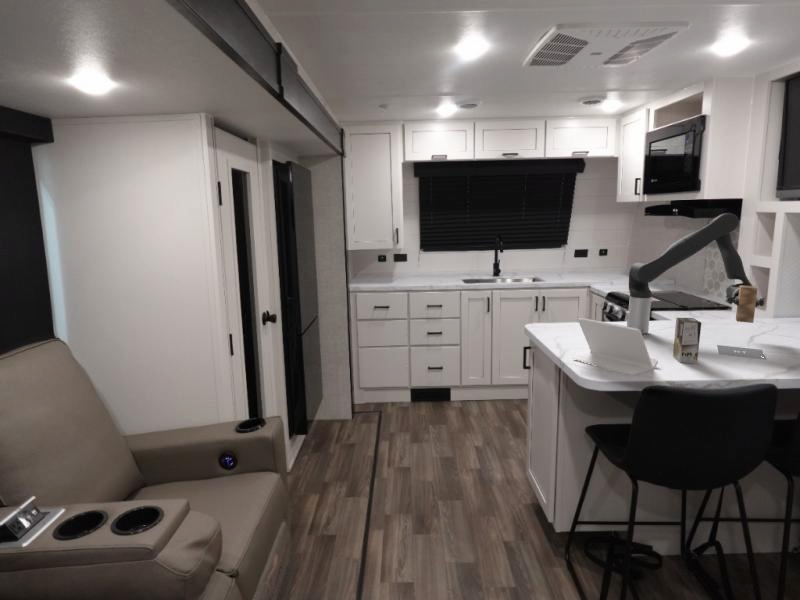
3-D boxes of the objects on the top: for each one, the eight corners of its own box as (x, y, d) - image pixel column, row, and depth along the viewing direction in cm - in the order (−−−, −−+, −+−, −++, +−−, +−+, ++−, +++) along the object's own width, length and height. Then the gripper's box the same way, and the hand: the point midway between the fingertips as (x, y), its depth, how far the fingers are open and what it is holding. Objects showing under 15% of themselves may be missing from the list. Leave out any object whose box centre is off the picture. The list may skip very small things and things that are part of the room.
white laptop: (632, 377, 182) (636, 330, 179) (571, 360, 201) (574, 318, 198) (658, 367, 192) (662, 323, 189) (598, 352, 212) (601, 312, 209)
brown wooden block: (736, 321, 207) (740, 287, 204) (735, 318, 211) (739, 285, 209) (753, 322, 204) (757, 288, 202) (751, 320, 209) (756, 286, 206)
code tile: (718, 354, 207) (718, 354, 207) (716, 345, 221) (716, 344, 221) (766, 360, 199) (767, 359, 199) (761, 350, 213) (761, 349, 213)
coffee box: (697, 363, 196) (702, 322, 193) (679, 362, 197) (683, 321, 194) (689, 357, 205) (693, 317, 202) (672, 356, 206) (675, 316, 203)
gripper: (724, 287, 221) (727, 293, 207) (764, 289, 215) (770, 295, 200) (722, 304, 223) (725, 311, 208) (762, 307, 216) (768, 314, 201)
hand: (747, 303), depth 204 cm, fingers closed on brown wooden block, 5 cm apart
